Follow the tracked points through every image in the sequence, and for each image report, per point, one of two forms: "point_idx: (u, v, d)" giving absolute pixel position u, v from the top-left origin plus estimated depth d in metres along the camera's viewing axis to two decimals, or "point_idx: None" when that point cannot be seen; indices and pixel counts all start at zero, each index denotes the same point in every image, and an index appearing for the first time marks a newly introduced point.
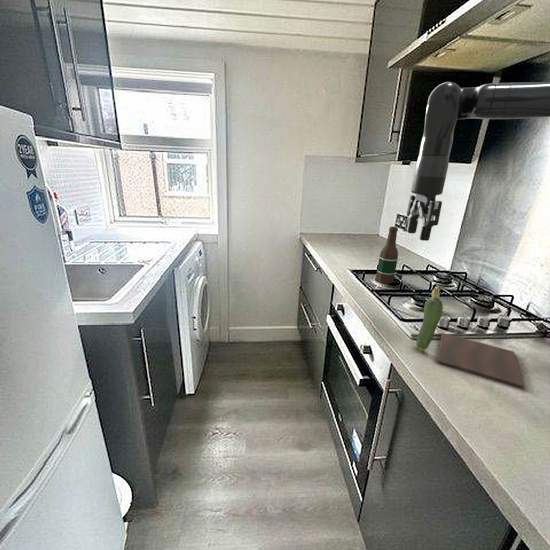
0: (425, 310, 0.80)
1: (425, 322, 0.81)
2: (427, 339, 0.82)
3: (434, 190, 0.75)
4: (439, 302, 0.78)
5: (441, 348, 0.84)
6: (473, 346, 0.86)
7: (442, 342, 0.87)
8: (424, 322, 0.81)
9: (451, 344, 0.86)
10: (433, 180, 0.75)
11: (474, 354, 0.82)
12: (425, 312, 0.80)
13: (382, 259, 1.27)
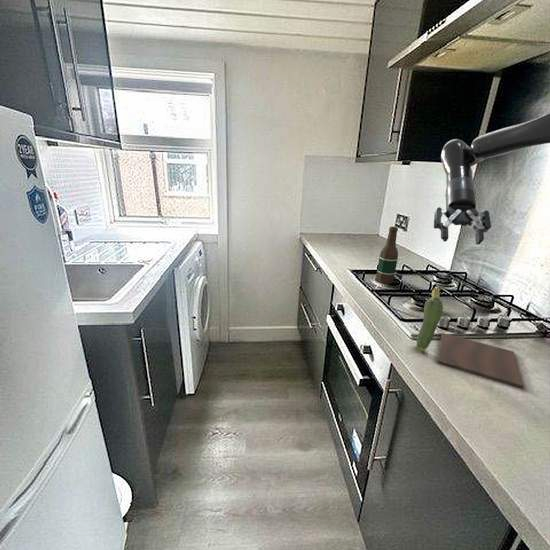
0: (425, 310, 0.80)
1: (425, 322, 0.81)
2: (427, 339, 0.82)
3: (447, 204, 0.91)
4: (439, 302, 0.78)
5: (441, 348, 0.84)
6: (473, 346, 0.86)
7: (442, 342, 0.87)
8: (424, 322, 0.81)
9: (451, 344, 0.86)
10: (446, 198, 0.92)
11: (474, 354, 0.82)
12: (425, 312, 0.80)
13: (382, 259, 1.27)
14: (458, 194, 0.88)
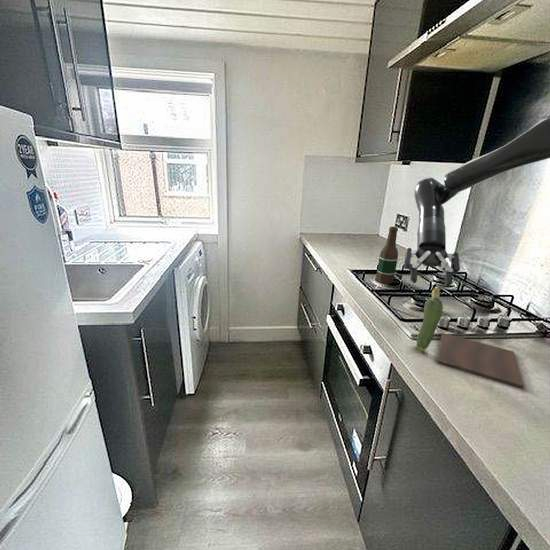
0: (425, 310, 0.80)
1: (425, 322, 0.81)
2: (427, 339, 0.82)
3: (417, 244, 0.90)
4: (439, 302, 0.78)
5: (441, 348, 0.84)
6: (473, 346, 0.86)
7: (442, 342, 0.87)
8: (424, 322, 0.81)
9: (451, 344, 0.86)
10: None
11: (474, 354, 0.82)
12: (425, 312, 0.80)
13: (382, 259, 1.27)
14: (428, 235, 0.88)
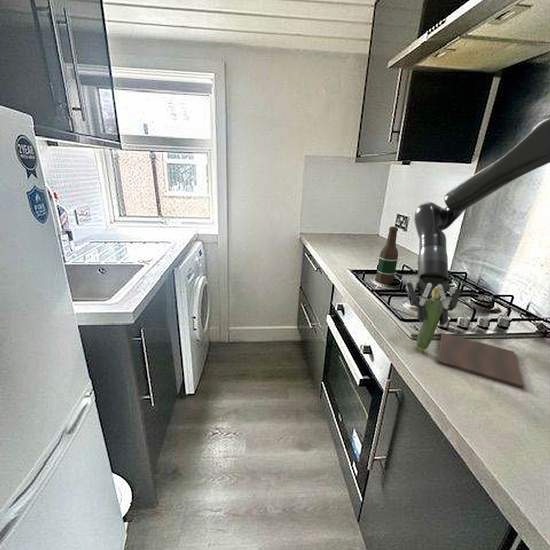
0: (425, 310, 0.80)
1: (425, 322, 0.81)
2: (427, 339, 0.82)
3: (418, 274, 0.85)
4: (439, 302, 0.78)
5: (441, 348, 0.84)
6: (473, 346, 0.86)
7: (442, 342, 0.87)
8: (424, 322, 0.81)
9: (451, 344, 0.86)
10: (418, 267, 0.87)
11: (474, 354, 0.82)
12: (425, 312, 0.80)
13: (382, 259, 1.27)
14: (429, 266, 0.82)
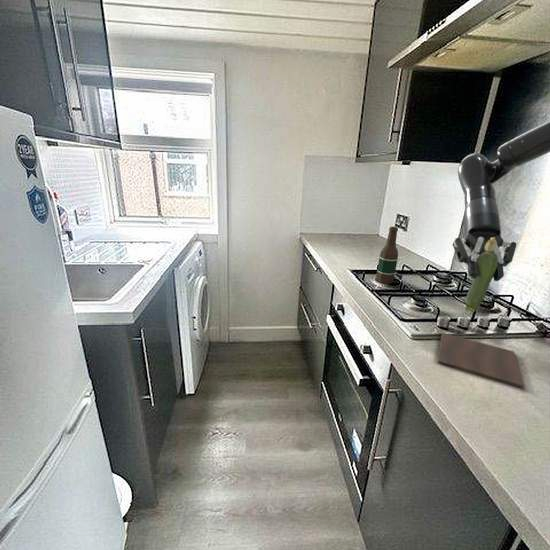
0: (477, 265, 0.73)
1: (476, 279, 0.74)
2: (478, 298, 0.75)
3: (466, 229, 0.78)
4: (494, 255, 0.71)
5: (441, 348, 0.84)
6: (473, 346, 0.86)
7: (442, 342, 0.87)
8: (475, 279, 0.75)
9: (451, 344, 0.86)
10: (465, 223, 0.80)
11: (474, 354, 0.82)
12: (477, 268, 0.73)
13: (382, 259, 1.27)
14: (480, 219, 0.76)
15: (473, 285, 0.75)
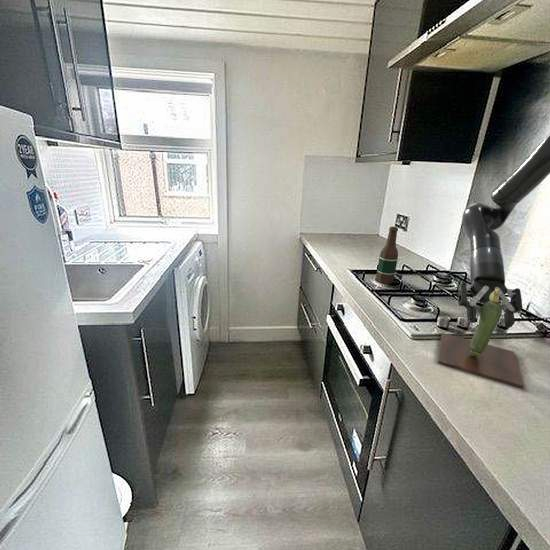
0: (482, 314, 0.77)
1: (481, 326, 0.78)
2: (483, 344, 0.79)
3: (472, 276, 0.82)
4: (498, 306, 0.75)
5: (441, 348, 0.84)
6: None
7: (442, 342, 0.87)
8: (480, 326, 0.78)
9: (451, 344, 0.86)
10: (470, 270, 0.84)
11: None
12: (482, 316, 0.77)
13: (382, 259, 1.27)
14: (485, 268, 0.79)
15: (478, 331, 0.79)
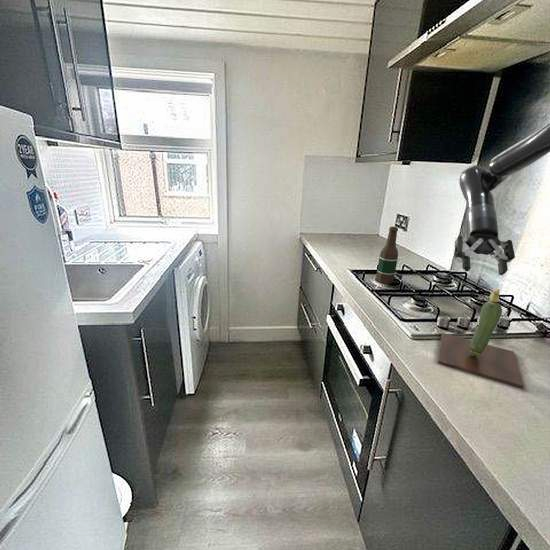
0: (482, 314, 0.77)
1: (481, 326, 0.78)
2: (483, 344, 0.79)
3: (468, 231, 0.89)
4: (498, 306, 0.75)
5: (441, 348, 0.84)
6: None
7: (442, 342, 0.87)
8: (480, 326, 0.78)
9: (451, 344, 0.86)
10: None
11: None
12: (482, 316, 0.77)
13: (382, 259, 1.27)
14: (480, 223, 0.86)
15: (478, 331, 0.79)
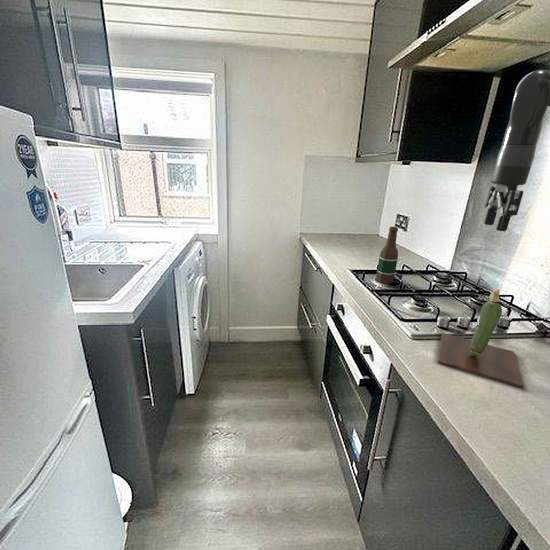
0: (482, 314, 0.77)
1: (481, 326, 0.78)
2: (483, 344, 0.79)
3: (516, 180, 0.75)
4: (498, 306, 0.75)
5: (441, 348, 0.84)
6: None
7: (442, 342, 0.87)
8: (480, 326, 0.78)
9: (451, 344, 0.86)
10: (515, 169, 0.74)
11: None
12: (482, 316, 0.77)
13: (382, 259, 1.27)
14: None
15: (478, 331, 0.79)
